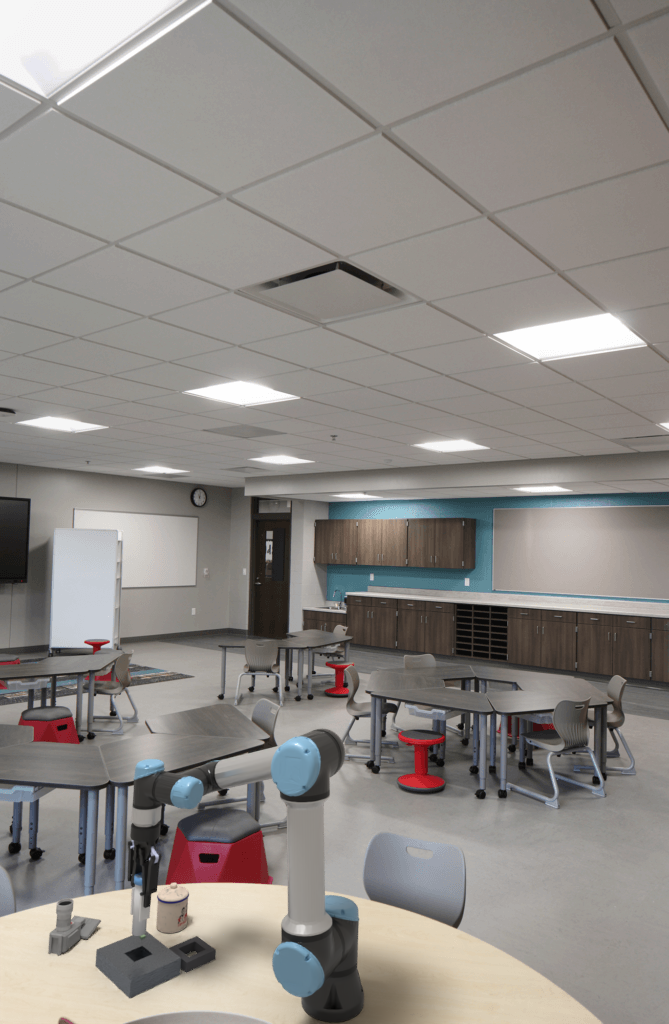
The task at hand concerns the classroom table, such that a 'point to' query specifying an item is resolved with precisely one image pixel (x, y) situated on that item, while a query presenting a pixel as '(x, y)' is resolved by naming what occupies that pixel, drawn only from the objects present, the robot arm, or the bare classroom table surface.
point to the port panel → (137, 963)
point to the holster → (197, 960)
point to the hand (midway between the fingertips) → (139, 915)
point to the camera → (69, 928)
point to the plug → (137, 925)
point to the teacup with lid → (172, 909)
